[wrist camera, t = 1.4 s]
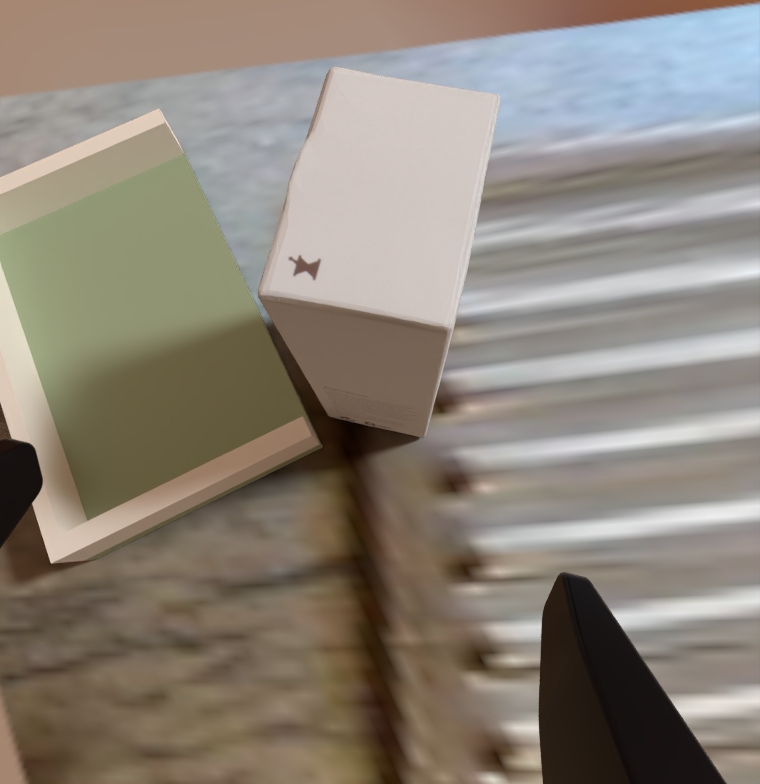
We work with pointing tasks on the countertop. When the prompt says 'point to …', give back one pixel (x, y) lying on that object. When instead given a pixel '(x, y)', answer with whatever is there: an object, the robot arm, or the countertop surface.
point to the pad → (132, 344)
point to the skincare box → (379, 242)
